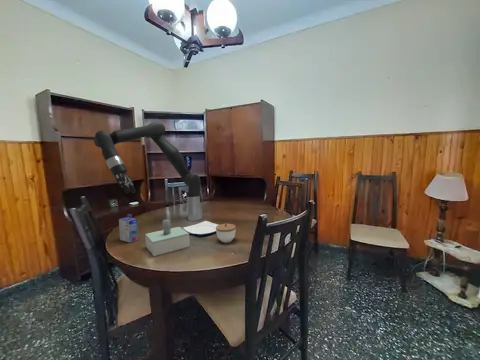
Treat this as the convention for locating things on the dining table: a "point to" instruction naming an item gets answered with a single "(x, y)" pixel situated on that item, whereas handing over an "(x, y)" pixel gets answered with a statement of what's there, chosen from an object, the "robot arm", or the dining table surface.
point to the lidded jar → (226, 232)
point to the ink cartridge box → (128, 229)
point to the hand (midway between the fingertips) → (131, 192)
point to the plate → (201, 228)
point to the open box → (167, 245)
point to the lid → (166, 233)
